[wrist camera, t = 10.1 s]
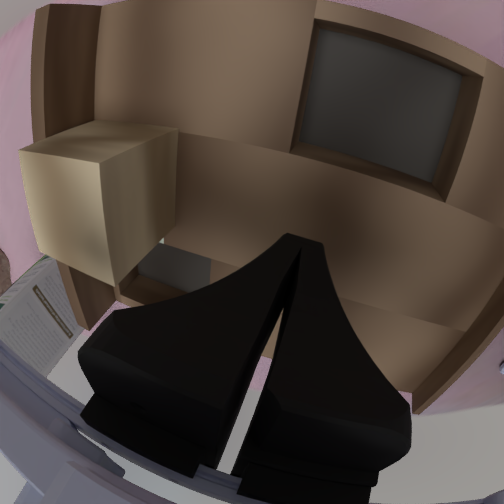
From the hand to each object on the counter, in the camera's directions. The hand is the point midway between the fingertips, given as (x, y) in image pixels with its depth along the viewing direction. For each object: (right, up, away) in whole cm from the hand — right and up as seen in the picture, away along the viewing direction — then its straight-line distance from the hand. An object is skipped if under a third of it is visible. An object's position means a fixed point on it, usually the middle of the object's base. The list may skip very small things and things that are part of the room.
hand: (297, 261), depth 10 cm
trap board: (0, +3, +3) cm, 5 cm away
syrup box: (-17, -2, +13) cm, 21 cm away
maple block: (-7, +4, +2) cm, 8 cm away
